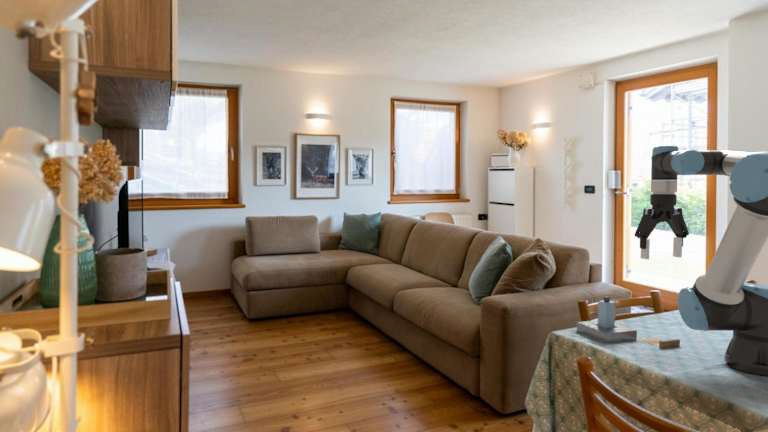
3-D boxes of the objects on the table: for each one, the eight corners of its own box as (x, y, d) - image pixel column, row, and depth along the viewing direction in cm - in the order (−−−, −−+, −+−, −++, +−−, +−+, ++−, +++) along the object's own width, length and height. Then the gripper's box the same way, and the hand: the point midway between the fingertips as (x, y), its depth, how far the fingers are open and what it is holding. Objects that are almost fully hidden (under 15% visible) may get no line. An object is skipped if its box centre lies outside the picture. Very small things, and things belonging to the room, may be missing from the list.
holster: (679, 349, 160) (679, 339, 159) (661, 351, 157) (662, 341, 157) (656, 340, 168) (656, 331, 168) (638, 342, 166) (639, 333, 166)
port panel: (636, 342, 166) (636, 329, 166) (606, 345, 163) (606, 332, 162) (605, 330, 180) (605, 318, 179) (576, 333, 176) (576, 320, 176)
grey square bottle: (614, 338, 170) (615, 297, 169) (605, 339, 169) (606, 298, 168) (606, 335, 173) (607, 295, 172) (597, 336, 172) (598, 296, 171)
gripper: (683, 192, 176) (680, 254, 177) (624, 193, 168) (622, 257, 170) (702, 193, 169) (700, 257, 170) (642, 193, 161) (639, 261, 162)
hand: (661, 257), depth 170 cm, fingers open, 13 cm apart
